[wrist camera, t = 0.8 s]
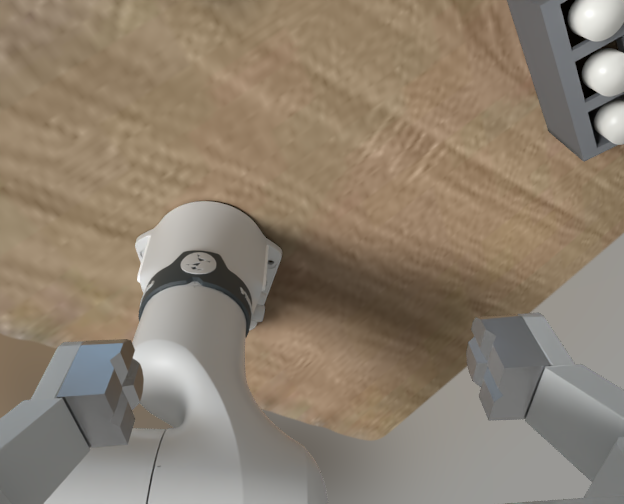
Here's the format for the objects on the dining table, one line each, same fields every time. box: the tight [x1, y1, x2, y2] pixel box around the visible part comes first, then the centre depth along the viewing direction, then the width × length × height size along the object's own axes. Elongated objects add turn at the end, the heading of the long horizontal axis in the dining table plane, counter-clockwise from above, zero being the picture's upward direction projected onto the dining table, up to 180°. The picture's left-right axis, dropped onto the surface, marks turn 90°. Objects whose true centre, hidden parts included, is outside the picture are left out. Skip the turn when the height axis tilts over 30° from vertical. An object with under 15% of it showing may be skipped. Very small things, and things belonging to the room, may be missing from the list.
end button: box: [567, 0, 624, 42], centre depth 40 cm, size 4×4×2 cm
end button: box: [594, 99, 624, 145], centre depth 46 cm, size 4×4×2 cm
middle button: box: [581, 48, 624, 97], centre depth 43 cm, size 4×4×2 cm
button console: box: [507, 0, 624, 161], centre depth 47 cm, size 17×9×8 cm, turn 31°
